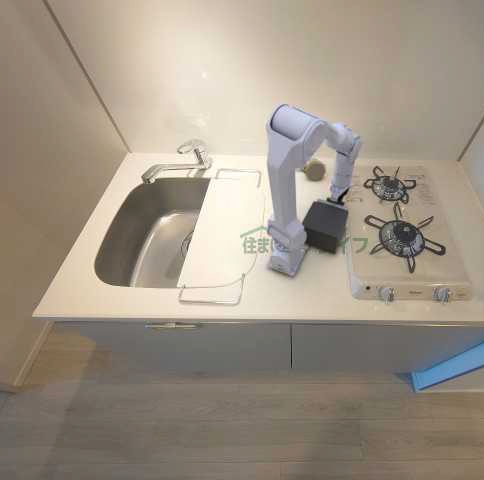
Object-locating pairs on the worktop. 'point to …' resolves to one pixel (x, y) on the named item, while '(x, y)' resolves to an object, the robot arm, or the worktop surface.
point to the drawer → (333, 204)
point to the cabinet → (324, 226)
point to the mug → (314, 169)
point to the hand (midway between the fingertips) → (338, 201)
